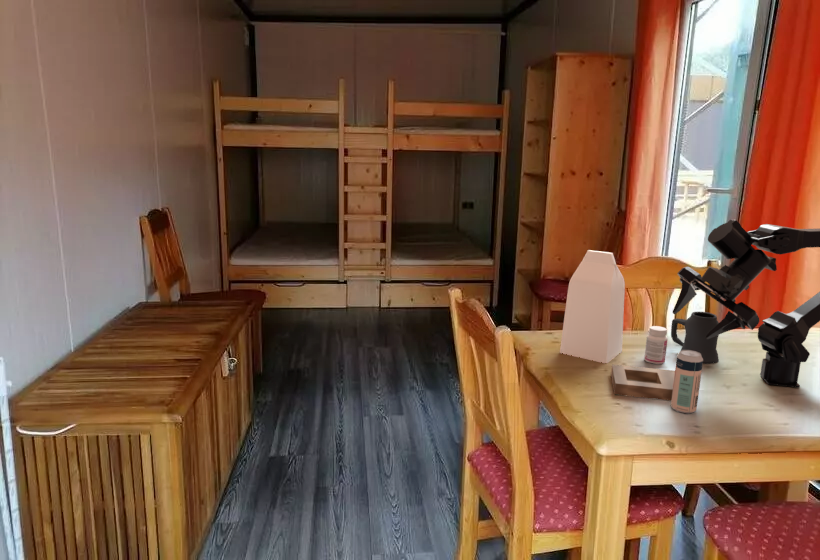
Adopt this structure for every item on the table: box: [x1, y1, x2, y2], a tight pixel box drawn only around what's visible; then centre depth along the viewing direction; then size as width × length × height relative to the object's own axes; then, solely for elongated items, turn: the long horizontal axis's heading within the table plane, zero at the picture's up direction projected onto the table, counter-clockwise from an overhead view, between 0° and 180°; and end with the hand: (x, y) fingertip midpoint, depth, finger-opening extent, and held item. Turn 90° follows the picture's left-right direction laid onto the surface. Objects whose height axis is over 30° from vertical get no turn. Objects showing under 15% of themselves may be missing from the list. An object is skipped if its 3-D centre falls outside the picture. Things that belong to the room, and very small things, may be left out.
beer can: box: [670, 350, 703, 414], centre depth 124 cm, size 5×5×12 cm
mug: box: [670, 311, 720, 365], centre depth 156 cm, size 12×9×11 cm
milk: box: [559, 249, 626, 364], centre depth 156 cm, size 12×12×26 cm
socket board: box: [610, 364, 675, 402], centre depth 136 cm, size 15×12×2 cm
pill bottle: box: [643, 325, 668, 365], centre depth 152 cm, size 5×5×8 cm
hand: (689, 325), depth 137 cm, fingers open, 9 cm apart
